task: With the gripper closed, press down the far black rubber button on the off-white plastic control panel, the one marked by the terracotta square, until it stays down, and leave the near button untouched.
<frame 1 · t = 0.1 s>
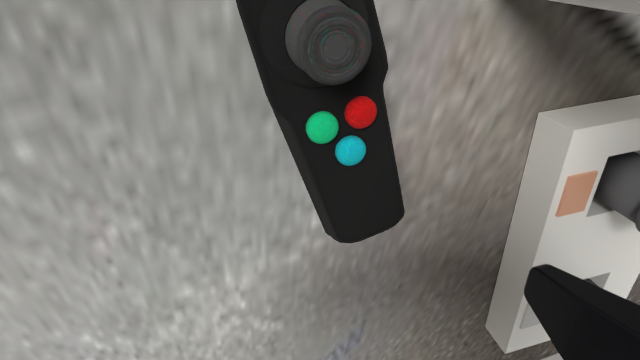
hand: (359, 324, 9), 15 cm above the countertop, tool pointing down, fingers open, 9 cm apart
panel: (569, 224, 33), on the countertop
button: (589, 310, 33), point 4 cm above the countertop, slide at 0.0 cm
controller: (297, 68, 21), on the countertop
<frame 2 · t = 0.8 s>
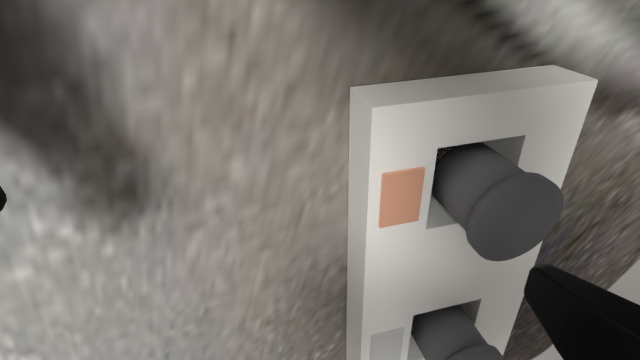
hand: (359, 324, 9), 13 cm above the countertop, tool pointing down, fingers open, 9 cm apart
panel: (432, 237, 26), on the countertop
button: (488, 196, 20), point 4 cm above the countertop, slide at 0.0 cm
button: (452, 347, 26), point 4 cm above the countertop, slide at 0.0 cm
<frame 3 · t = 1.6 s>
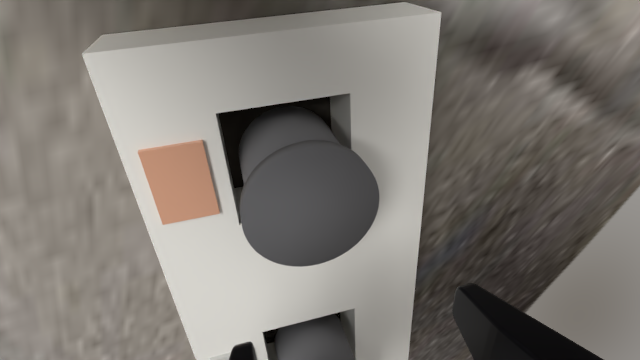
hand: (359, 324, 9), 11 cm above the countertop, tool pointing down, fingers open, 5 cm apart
panel: (291, 233, 21), on the countertop
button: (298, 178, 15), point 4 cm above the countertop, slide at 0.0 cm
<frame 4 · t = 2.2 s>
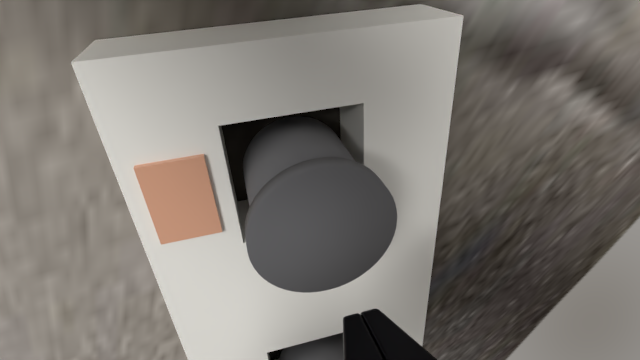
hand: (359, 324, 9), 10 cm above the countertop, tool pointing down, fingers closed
panel: (297, 247, 20), on the countertop
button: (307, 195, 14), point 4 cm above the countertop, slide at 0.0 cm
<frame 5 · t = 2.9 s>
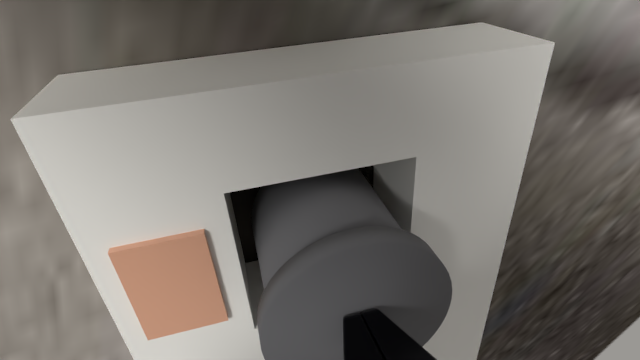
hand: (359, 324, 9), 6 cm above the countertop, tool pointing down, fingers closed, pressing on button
panel: (316, 310, 17), on the countertop
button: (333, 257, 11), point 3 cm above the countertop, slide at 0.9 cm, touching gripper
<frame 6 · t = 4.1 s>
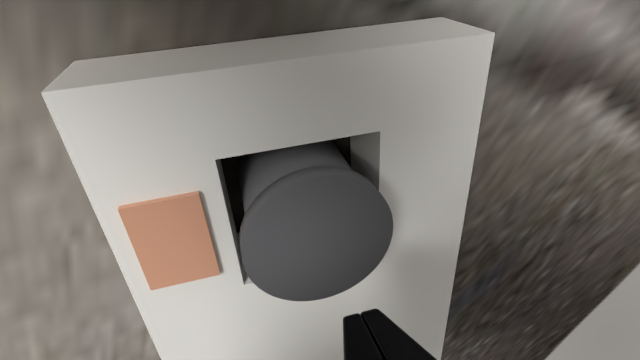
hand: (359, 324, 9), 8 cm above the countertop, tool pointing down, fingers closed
panel: (302, 279, 19), on the countertop
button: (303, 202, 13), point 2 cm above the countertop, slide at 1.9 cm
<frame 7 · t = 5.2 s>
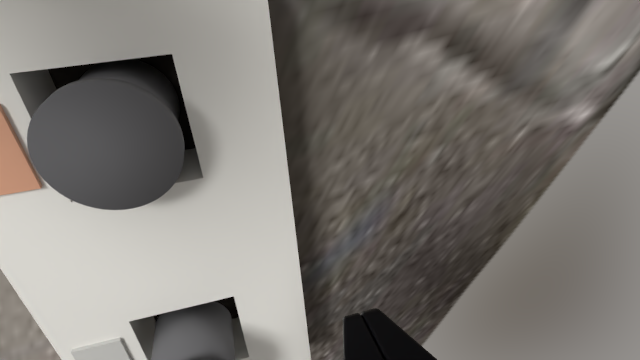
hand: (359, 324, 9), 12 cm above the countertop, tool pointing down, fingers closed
panel: (167, 216, 20), on the countertop
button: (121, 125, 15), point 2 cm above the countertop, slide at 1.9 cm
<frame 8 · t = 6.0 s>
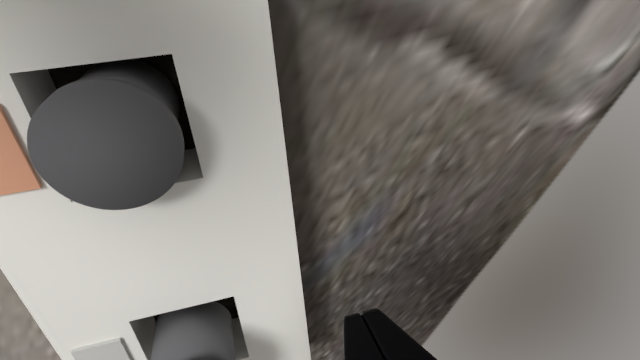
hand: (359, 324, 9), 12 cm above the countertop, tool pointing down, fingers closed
panel: (167, 216, 20), on the countertop
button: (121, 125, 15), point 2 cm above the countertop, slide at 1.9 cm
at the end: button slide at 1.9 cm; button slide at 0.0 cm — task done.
